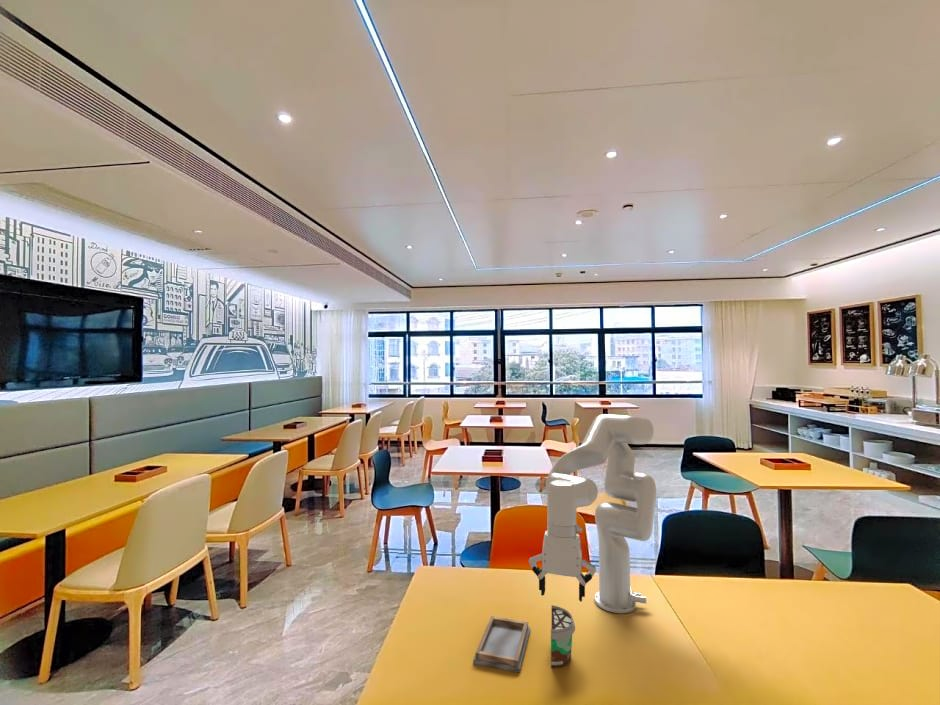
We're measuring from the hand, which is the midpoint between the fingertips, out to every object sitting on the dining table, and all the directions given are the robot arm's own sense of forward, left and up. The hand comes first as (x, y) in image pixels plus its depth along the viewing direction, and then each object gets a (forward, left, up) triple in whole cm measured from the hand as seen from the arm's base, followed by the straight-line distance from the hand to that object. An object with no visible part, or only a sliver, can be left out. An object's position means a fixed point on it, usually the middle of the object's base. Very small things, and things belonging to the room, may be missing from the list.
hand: (561, 596), depth 112 cm
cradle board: (+16, -1, -16) cm, 22 cm away
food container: (0, -1, -16) cm, 16 cm away
